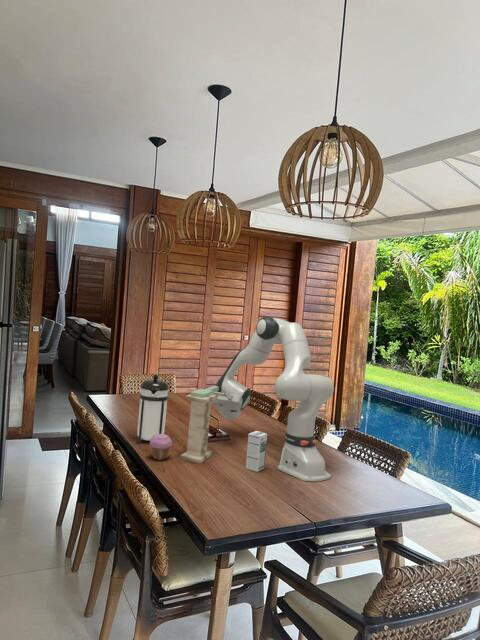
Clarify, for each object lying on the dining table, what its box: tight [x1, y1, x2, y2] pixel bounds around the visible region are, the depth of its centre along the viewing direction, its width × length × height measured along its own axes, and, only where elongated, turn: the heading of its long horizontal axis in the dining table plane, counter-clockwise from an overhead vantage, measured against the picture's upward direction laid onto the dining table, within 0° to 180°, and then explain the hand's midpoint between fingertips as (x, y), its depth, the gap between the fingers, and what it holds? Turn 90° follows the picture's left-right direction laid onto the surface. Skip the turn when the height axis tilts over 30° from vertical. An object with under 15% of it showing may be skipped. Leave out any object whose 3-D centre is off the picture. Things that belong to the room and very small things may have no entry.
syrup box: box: [245, 430, 268, 473], centre depth 195 cm, size 6×6×14 cm
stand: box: [179, 393, 218, 464], centre depth 202 cm, size 13×9×26 cm
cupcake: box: [149, 433, 173, 461], centre depth 196 cm, size 9×9×10 cm
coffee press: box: [135, 374, 170, 444], centre depth 219 cm, size 17×16×30 cm
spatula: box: [189, 385, 219, 398], centre depth 206 cm, size 21×6×2 cm, turn 161°
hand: (215, 391), depth 216 cm, fingers open, 8 cm apart
